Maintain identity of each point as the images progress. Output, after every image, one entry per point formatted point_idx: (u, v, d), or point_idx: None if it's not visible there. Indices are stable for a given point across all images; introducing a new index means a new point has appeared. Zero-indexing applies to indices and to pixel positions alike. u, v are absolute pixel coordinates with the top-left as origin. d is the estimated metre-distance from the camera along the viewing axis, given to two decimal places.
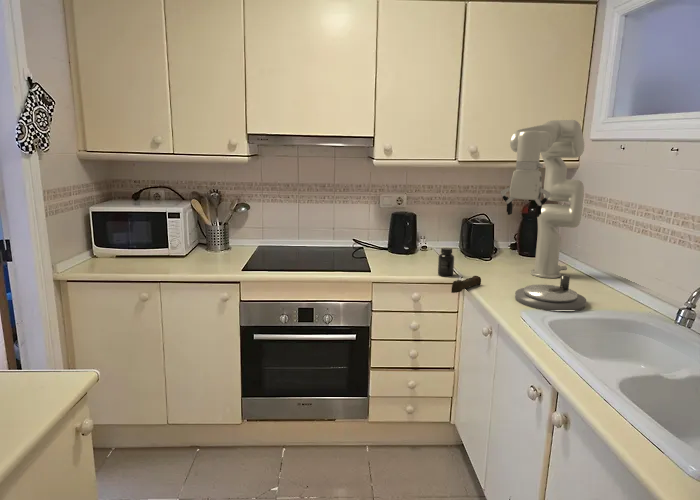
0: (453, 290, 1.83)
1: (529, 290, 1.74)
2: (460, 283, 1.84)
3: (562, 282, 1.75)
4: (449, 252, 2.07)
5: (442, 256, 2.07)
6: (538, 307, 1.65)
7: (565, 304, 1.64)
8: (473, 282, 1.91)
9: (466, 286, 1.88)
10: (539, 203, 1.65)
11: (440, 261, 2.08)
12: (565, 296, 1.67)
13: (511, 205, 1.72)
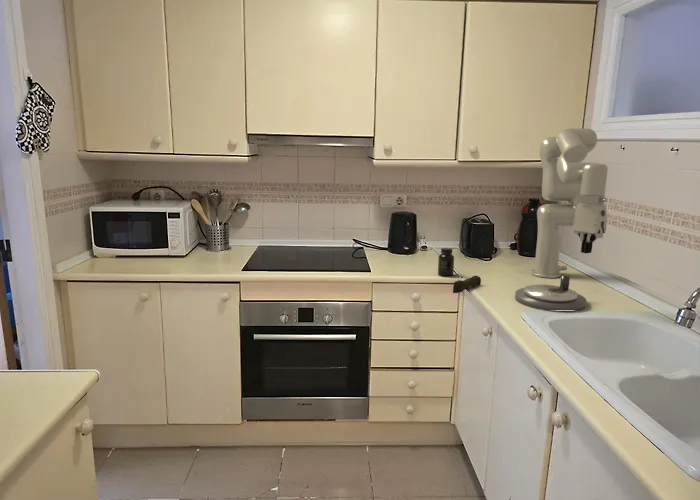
0: (454, 290, 1.83)
1: (529, 290, 1.74)
2: (461, 283, 1.84)
3: (562, 282, 1.75)
4: (449, 252, 2.07)
5: (442, 256, 2.07)
6: (538, 307, 1.65)
7: (565, 304, 1.64)
8: (473, 282, 1.91)
9: (467, 286, 1.88)
10: (588, 240, 1.64)
11: (440, 261, 2.08)
12: (565, 296, 1.67)
13: None
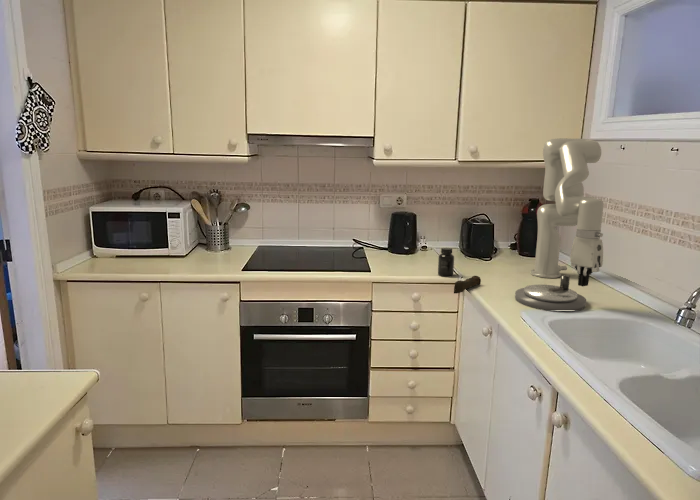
0: (455, 291, 1.82)
1: (529, 290, 1.74)
2: (462, 283, 1.84)
3: (562, 282, 1.75)
4: (449, 252, 2.07)
5: (442, 256, 2.07)
6: (538, 307, 1.65)
7: (565, 304, 1.64)
8: (473, 282, 1.91)
9: (467, 286, 1.88)
10: (584, 273, 1.66)
11: (440, 261, 2.08)
12: (565, 296, 1.67)
13: None
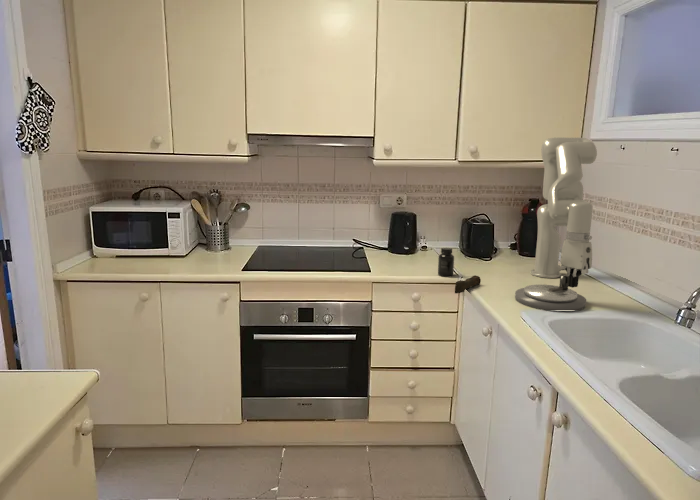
0: (456, 291, 1.82)
1: (529, 291, 1.73)
2: (462, 283, 1.84)
3: (562, 282, 1.75)
4: (449, 252, 2.07)
5: (442, 256, 2.07)
6: (538, 307, 1.65)
7: (565, 304, 1.64)
8: (474, 282, 1.91)
9: (468, 286, 1.87)
10: (574, 274, 1.70)
11: (440, 261, 2.08)
12: (566, 296, 1.67)
13: None
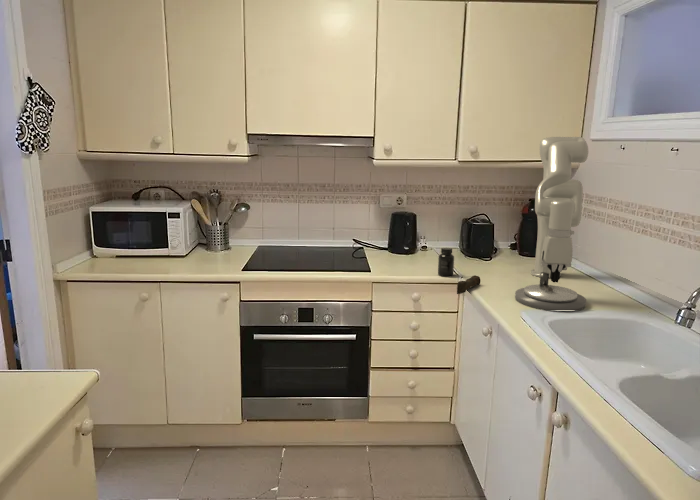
0: (458, 291, 1.82)
1: (547, 296, 1.67)
2: (464, 283, 1.83)
3: (546, 280, 1.78)
4: (449, 252, 2.07)
5: (442, 256, 2.07)
6: (538, 307, 1.65)
7: (565, 304, 1.64)
8: (474, 282, 1.91)
9: (469, 286, 1.87)
10: (560, 270, 1.77)
11: (440, 261, 2.08)
12: (570, 291, 1.73)
13: None
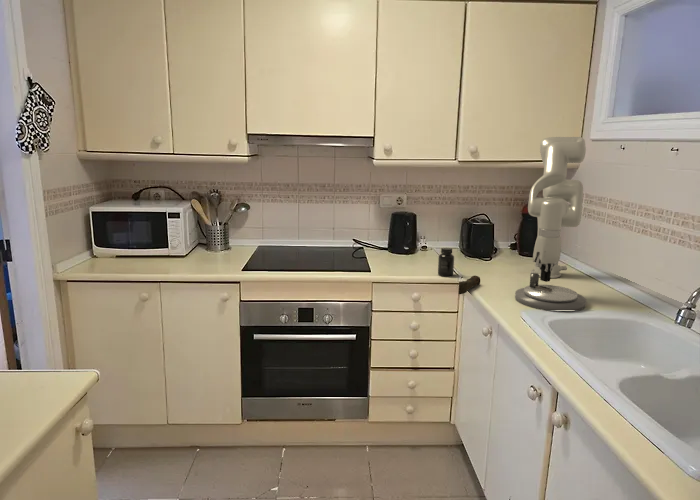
0: (460, 291, 1.81)
1: (561, 297, 1.66)
2: (465, 284, 1.83)
3: (538, 280, 1.78)
4: (449, 252, 2.07)
5: (442, 256, 2.07)
6: (538, 307, 1.65)
7: (565, 304, 1.64)
8: (474, 282, 1.91)
9: (470, 287, 1.87)
10: (551, 268, 1.80)
11: (440, 261, 2.08)
12: (562, 288, 1.77)
13: None
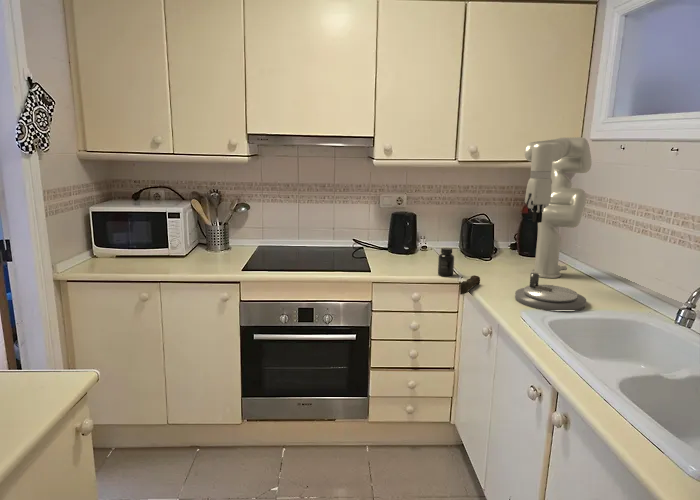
0: (462, 292, 1.81)
1: (561, 297, 1.66)
2: (467, 284, 1.83)
3: (538, 280, 1.78)
4: (449, 252, 2.07)
5: (442, 256, 2.07)
6: (538, 307, 1.65)
7: (565, 304, 1.64)
8: (475, 282, 1.91)
9: (470, 287, 1.87)
10: (542, 210, 1.88)
11: (440, 261, 2.08)
12: (562, 288, 1.77)
13: None
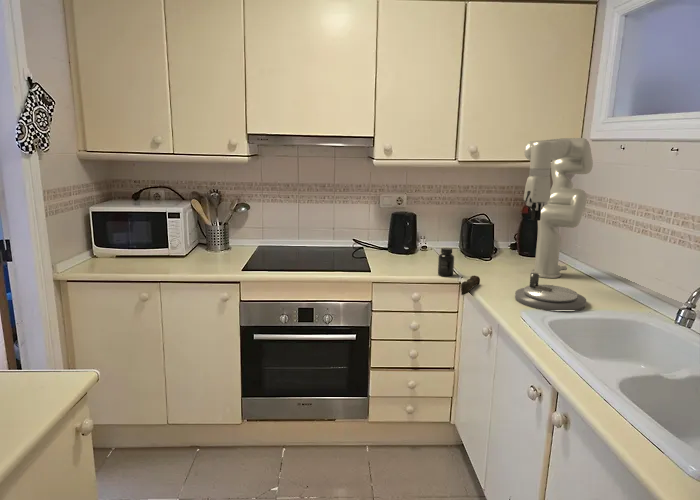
0: (463, 292, 1.81)
1: (561, 297, 1.66)
2: (468, 284, 1.83)
3: (538, 280, 1.78)
4: (449, 252, 2.07)
5: (442, 256, 2.07)
6: (538, 307, 1.65)
7: (565, 304, 1.64)
8: (475, 282, 1.91)
9: (471, 287, 1.87)
10: (541, 208, 1.88)
11: (440, 261, 2.08)
12: (562, 288, 1.77)
13: None
